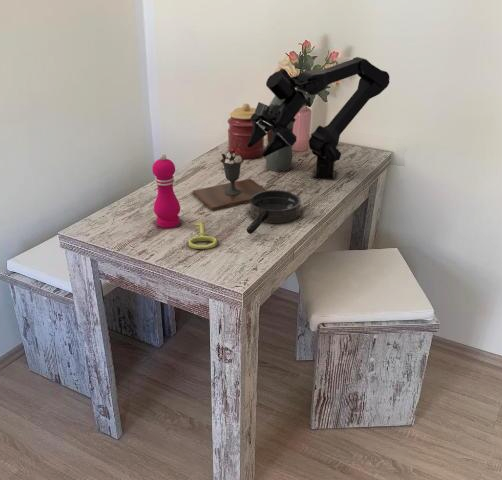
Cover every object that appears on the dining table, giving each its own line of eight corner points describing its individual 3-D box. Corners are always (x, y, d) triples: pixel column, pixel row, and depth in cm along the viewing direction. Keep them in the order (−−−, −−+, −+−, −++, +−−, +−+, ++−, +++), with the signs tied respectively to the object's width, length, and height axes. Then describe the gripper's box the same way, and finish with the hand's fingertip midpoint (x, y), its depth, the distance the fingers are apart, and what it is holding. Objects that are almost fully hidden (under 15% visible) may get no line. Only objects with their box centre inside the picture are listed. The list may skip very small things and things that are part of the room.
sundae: (248, 192, 175) (248, 144, 167) (231, 198, 172) (230, 149, 164) (234, 186, 180) (233, 139, 172) (217, 191, 176) (215, 143, 168)
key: (203, 226, 158) (202, 219, 157) (219, 246, 149) (219, 239, 147) (177, 232, 156) (177, 224, 155) (193, 252, 146) (192, 245, 145)
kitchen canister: (237, 145, 215) (237, 97, 206) (269, 150, 211) (270, 101, 201) (221, 156, 205) (220, 106, 196) (255, 161, 201) (255, 110, 191)
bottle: (271, 160, 201) (273, 71, 186) (296, 164, 198) (300, 73, 182) (260, 169, 194) (262, 77, 178) (286, 173, 191) (289, 80, 175)
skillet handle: (262, 215, 159) (262, 209, 158) (269, 217, 159) (269, 210, 158) (245, 234, 150) (245, 227, 149) (252, 235, 149) (252, 228, 148)
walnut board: (250, 181, 185) (250, 178, 185) (272, 197, 175) (272, 194, 174) (192, 193, 178) (192, 190, 177) (212, 210, 167) (212, 207, 167)
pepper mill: (176, 230, 157) (171, 159, 146) (151, 227, 158) (144, 157, 147) (184, 218, 163) (179, 150, 152) (159, 216, 164) (153, 148, 153)
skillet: (256, 200, 173) (256, 188, 171) (303, 205, 170) (303, 192, 168) (245, 221, 161) (245, 208, 159) (295, 226, 158) (296, 213, 156)
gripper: (256, 85, 173) (224, 126, 175) (289, 99, 159) (253, 144, 160) (278, 108, 180) (247, 148, 182) (311, 123, 166) (277, 166, 168)
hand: (255, 151), depth 173 cm, fingers open, 9 cm apart
